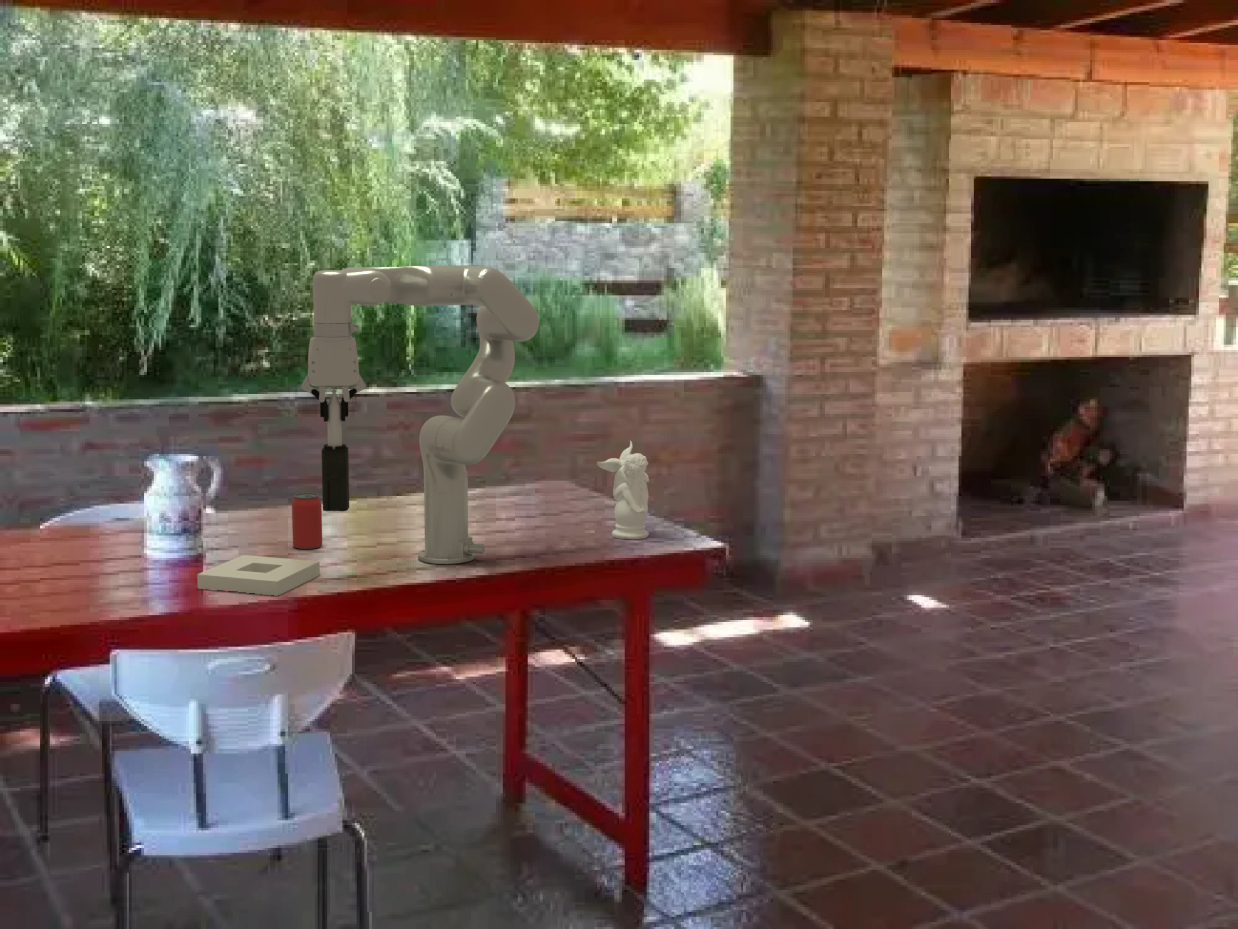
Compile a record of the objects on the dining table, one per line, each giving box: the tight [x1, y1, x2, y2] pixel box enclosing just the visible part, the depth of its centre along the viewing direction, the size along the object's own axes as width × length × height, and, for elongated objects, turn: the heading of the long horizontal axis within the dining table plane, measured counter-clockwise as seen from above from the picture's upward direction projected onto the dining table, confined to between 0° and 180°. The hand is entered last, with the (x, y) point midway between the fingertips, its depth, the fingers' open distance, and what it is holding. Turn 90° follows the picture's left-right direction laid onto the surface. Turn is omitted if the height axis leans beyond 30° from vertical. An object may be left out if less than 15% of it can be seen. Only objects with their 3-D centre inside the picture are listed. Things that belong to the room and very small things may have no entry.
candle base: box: [196, 554, 321, 597], centre depth 322 cm, size 18×18×3 cm
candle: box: [321, 389, 350, 512], centre depth 323 cm, size 5×5×25 cm
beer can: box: [291, 492, 323, 550], centre depth 354 cm, size 7×7×12 cm
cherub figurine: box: [596, 440, 650, 540], centre depth 368 cm, size 12×12×22 cm
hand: (334, 419), depth 322 cm, fingers closed on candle, 3 cm apart
